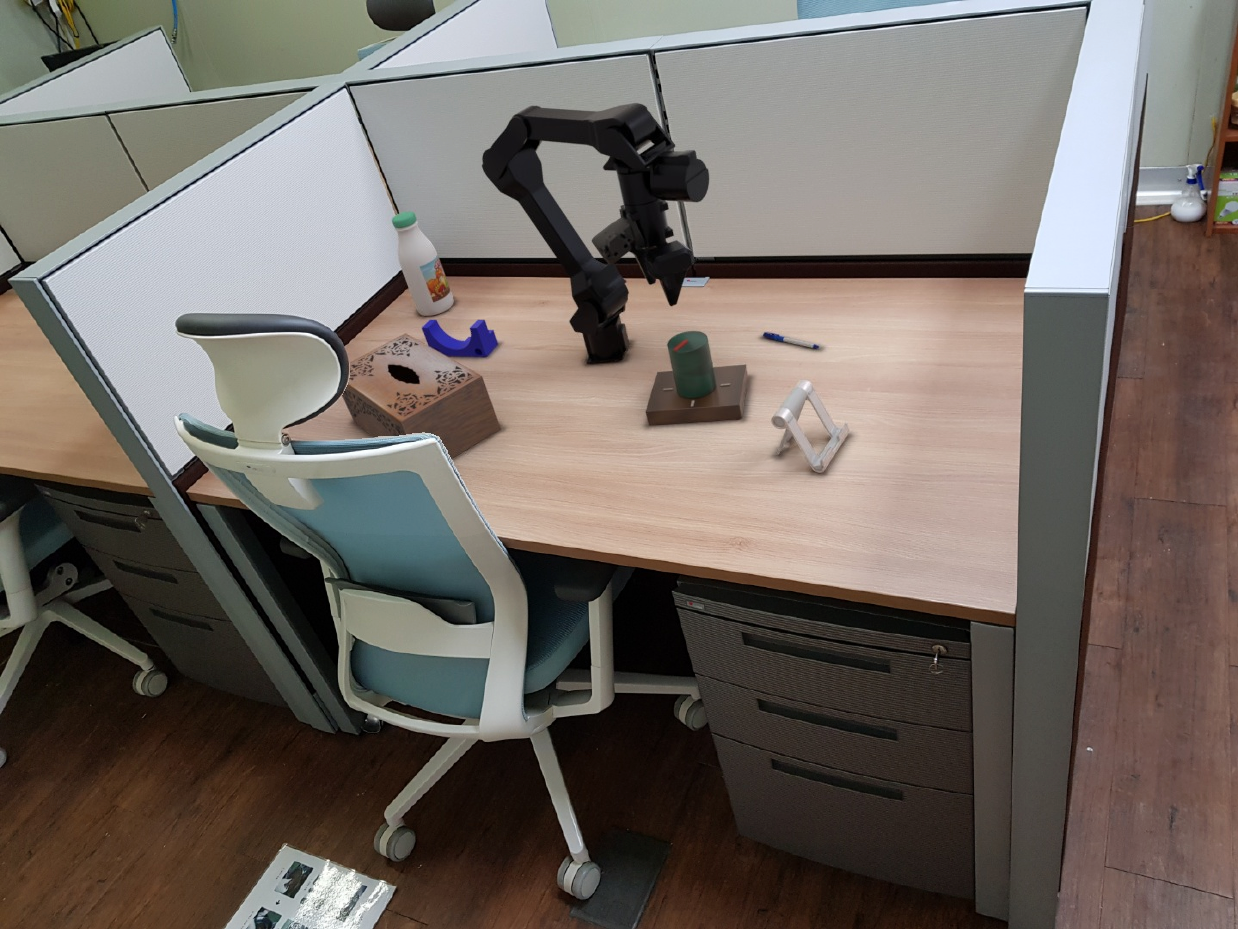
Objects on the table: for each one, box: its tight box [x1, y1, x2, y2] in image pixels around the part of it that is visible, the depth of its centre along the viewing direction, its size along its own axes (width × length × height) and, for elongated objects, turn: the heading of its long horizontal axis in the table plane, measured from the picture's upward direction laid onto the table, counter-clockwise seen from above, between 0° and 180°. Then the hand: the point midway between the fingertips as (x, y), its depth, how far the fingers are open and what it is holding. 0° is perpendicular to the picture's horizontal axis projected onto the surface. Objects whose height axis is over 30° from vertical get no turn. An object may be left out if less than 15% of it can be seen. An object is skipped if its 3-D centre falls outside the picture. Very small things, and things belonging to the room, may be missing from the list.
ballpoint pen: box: [762, 331, 820, 349], centre depth 148 cm, size 10×1×1 cm, turn 49°
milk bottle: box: [391, 210, 455, 317], centre depth 184 cm, size 8×8×20 cm
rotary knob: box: [666, 330, 716, 398], centre depth 137 cm, size 6×6×8 cm
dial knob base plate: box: [645, 364, 749, 426], centre depth 140 cm, size 14×11×3 cm
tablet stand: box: [770, 379, 850, 474], centre depth 123 cm, size 9×8×8 cm
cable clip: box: [421, 319, 499, 358], centre depth 170 cm, size 12×4×6 cm, turn 68°
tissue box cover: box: [341, 332, 502, 459], centre depth 150 cm, size 26×14×10 cm, turn 39°
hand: (662, 294), depth 143 cm, fingers open, 9 cm apart
